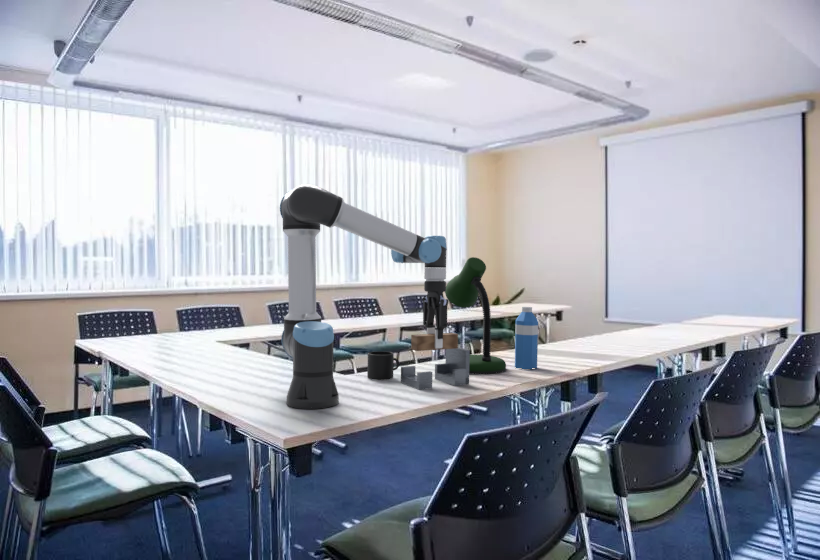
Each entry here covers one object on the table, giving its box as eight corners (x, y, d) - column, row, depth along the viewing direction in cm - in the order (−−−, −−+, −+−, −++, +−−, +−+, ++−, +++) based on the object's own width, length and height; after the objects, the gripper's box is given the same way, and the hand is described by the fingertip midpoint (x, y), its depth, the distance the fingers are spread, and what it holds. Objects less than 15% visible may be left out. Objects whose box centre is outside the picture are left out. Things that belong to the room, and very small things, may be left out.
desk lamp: (430, 362, 237) (432, 257, 236) (476, 360, 246) (478, 258, 245) (465, 376, 209) (467, 256, 208) (516, 372, 218) (518, 257, 217)
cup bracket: (454, 386, 191) (455, 351, 191) (434, 379, 202) (435, 346, 202) (469, 384, 194) (469, 350, 194) (448, 377, 205) (449, 345, 205)
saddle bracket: (419, 389, 184) (419, 373, 184) (400, 382, 195) (400, 366, 195) (432, 388, 186) (432, 372, 186) (413, 381, 198) (413, 365, 198)
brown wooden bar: (416, 351, 189) (417, 336, 189) (411, 349, 193) (411, 334, 193) (457, 348, 196) (457, 334, 196) (451, 346, 200) (451, 332, 200)
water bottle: (510, 366, 232) (511, 306, 231) (530, 365, 234) (531, 306, 234) (521, 370, 223) (522, 307, 222) (541, 369, 226) (543, 307, 225)
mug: (403, 379, 202) (404, 354, 202) (372, 381, 197) (372, 355, 197) (394, 374, 211) (394, 350, 210) (364, 376, 206) (364, 351, 206)
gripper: (458, 280, 188) (457, 349, 188) (431, 279, 203) (430, 343, 204) (439, 281, 184) (438, 351, 185) (413, 279, 200) (412, 344, 200)
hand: (434, 347), depth 194 cm, fingers closed on brown wooden bar, 5 cm apart
